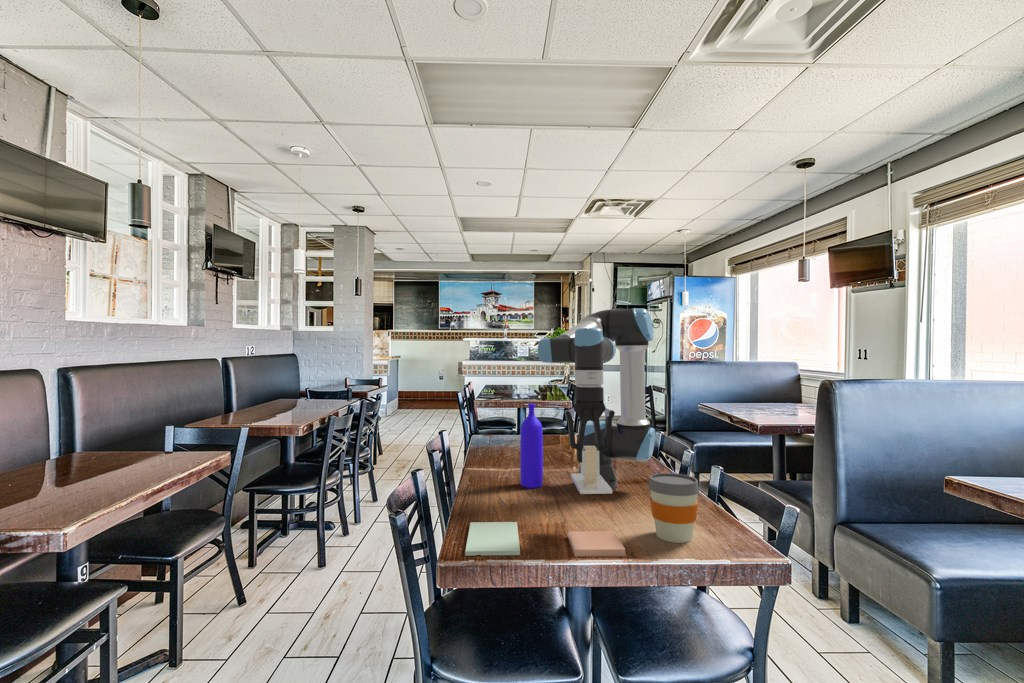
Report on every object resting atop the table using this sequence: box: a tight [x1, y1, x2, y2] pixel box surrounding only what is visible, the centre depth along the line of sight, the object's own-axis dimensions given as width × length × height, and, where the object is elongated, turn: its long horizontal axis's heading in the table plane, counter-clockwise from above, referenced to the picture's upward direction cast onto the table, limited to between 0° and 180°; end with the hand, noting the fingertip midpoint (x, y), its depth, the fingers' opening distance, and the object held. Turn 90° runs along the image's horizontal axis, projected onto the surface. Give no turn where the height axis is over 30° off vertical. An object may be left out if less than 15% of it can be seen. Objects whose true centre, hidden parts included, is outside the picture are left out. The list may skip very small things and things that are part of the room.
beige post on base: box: [570, 446, 613, 495], centre depth 125 cm, size 16×8×10 cm, turn 1°
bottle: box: [519, 403, 544, 489], centre depth 174 cm, size 8×8×30 cm
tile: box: [567, 530, 627, 558], centre depth 117 cm, size 2×12×12 cm
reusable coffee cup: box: [648, 472, 700, 544], centre depth 124 cm, size 13×13×15 cm
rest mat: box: [464, 521, 521, 557], centre depth 122 cm, size 20×13×1 cm, turn 1°
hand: (590, 474), depth 125 cm, fingers closed on beige post on base, 3 cm apart
